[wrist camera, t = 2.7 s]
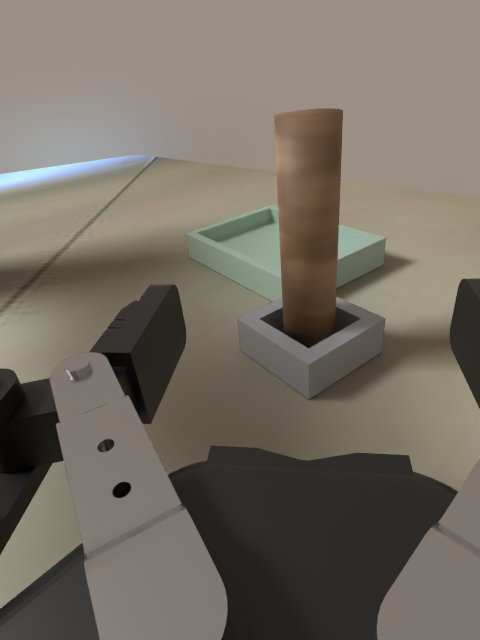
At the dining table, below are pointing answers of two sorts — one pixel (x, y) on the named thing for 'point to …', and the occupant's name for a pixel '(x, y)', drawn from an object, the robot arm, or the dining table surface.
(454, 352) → the robot arm
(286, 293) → the dowel
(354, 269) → the tray
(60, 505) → the dining table surface
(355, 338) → the holder
